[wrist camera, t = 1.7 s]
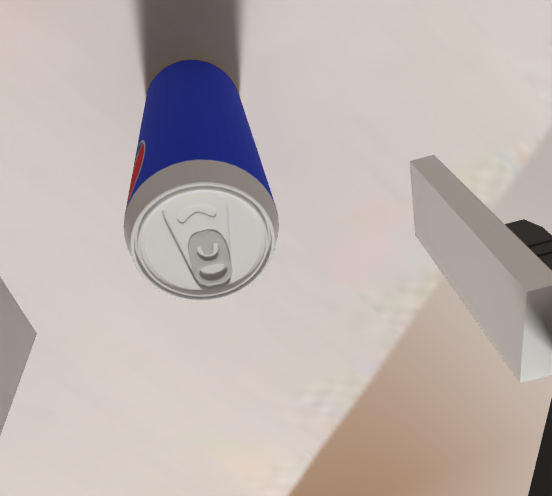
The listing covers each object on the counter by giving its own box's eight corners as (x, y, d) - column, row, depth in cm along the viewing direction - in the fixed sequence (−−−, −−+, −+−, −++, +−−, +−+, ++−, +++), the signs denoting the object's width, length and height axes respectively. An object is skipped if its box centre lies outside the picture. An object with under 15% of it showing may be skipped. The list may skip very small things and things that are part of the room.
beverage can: (134, 67, 28) (97, 192, 15) (229, 48, 28) (270, 156, 16) (160, 156, 31) (148, 323, 18) (247, 138, 31) (293, 291, 18)
